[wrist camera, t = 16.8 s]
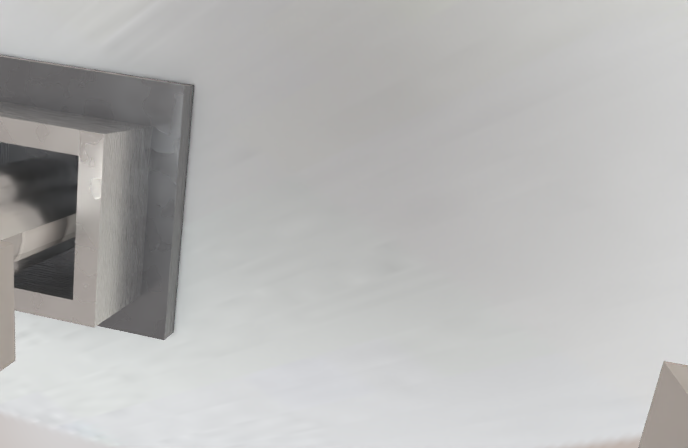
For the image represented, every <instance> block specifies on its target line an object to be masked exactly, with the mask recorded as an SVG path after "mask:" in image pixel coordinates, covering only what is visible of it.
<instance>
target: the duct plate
mask: <svg viewBox="0 0 688 448" xmlns="http://www.w3.org/2000/svg"><path fill="white" fill-rule="evenodd" d="M193 88H194V85H188V84H181V83H175V82H169V81H162V80H156V79H150V78H143V77H137V76H131V75H124V74H118V73H112V72H105V71H99V70H92V69H86V68H80V67H73V66H67V65H61V64H54V63H48V62H42V61H35V60H29V59H23V58H16V57H10V56H4V55H0V164H2V163H8V162H13V161H18V160H23V159H29V158H34V157H39V156H45V155H50V154H58V153H63V154H69V155H74V156H76V157H78V158H79V163H78V187H77V212H76V237H75V247H74V248H72V249H70V250H67V251H65V252H63V253H61V254H58V255H56V256H54V257H52V258H49V259H47V260H45V261H43V262H40V263H38V264H36V265H34V266H31V267H29V268H27V269H25V270H23V271H20V272H18V273H16V274H14V310H16V311H20V312H25V313H30V314H34V315H39V316H44V317H48V318H53V319H58V320H62V321H67V322H72V323H76V324H81V325H86V326H90V327H96V326H101V327H106V328H111V329H115V330H120V331H125V332H129V333H134V334H139V335H143V336H148V337H153V338H157V339H162V340H165V339H166V338H167V337H168V336H169V335H170V334H172V333H173V328H174V316H175V304H176V292H177V280H178V268H179V256H180V244H181V232H182V220H183V208H184V196H185V184H186V172H187V160H188V148H189V136H190V124H191V112H192V100H193Z"/></svg>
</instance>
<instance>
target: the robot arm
mask: <svg viewBox="0 0 688 448" xmlns="http://www.w3.org/2000/svg"><path fill="white" fill-rule="evenodd" d="M14 361H15V315H14V263H13V243H10V242H5V241H0V371H1V370H3V369H4V368H5V367H7V366H8V365H10V364H11V363H13V362H14ZM638 448H688V365H682V364H677V363H671V362H666V361H664V362H663V365H662V369H661V372H660V376H659V379H658V382H657V386H656V389H655V393H654V396H653V399H652V403H651V406H650V410H649V413H648V416H647V420H646V423H645V427H644V430H643V433H642V437H641V440H640V444H639V447H638Z"/></svg>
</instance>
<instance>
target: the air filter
mask: <svg viewBox="0 0 688 448" xmlns="http://www.w3.org/2000/svg"><path fill="white" fill-rule="evenodd" d="M78 163H79V158H78V157H76V156H74V155H69V154H63V153H58V154H50V155H45V156H39V157H34V158H29V159H23V160H18V161H13V162H8V163H2V164H0V241H5V242H10V243H13V263H14V274H16V273H18V272H20V271H23V270H25V269H27V268H29V267H31V266H34V265H36V264H38V263H40V262H43V261H45V260H47V259H49V258H52V257H54V256H56V255H58V254H61V253H63V252H65V251H67V250H70V249H72V248H74V247H75V237H76V212H77V187H78Z"/></svg>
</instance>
